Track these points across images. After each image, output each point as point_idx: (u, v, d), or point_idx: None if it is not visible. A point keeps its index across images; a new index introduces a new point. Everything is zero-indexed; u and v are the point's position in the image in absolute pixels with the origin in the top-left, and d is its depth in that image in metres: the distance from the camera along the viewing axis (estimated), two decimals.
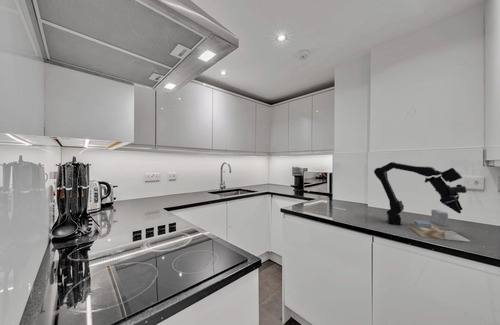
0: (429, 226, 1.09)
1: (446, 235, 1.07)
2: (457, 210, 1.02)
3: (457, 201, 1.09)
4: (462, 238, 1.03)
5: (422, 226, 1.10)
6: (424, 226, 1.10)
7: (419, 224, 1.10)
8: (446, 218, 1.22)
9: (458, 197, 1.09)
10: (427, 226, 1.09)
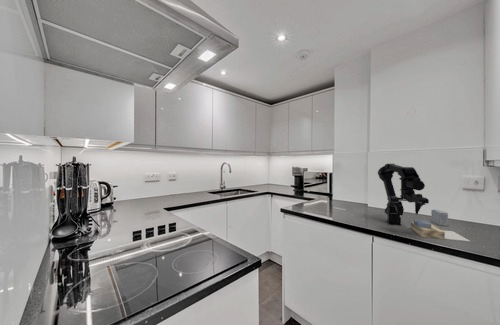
0: (429, 226, 1.09)
1: (446, 235, 1.07)
2: (396, 210, 1.16)
3: (417, 206, 1.12)
4: (462, 238, 1.03)
5: (422, 226, 1.10)
6: (424, 226, 1.10)
7: (419, 224, 1.10)
8: (446, 218, 1.22)
9: (419, 204, 1.10)
10: (427, 226, 1.09)
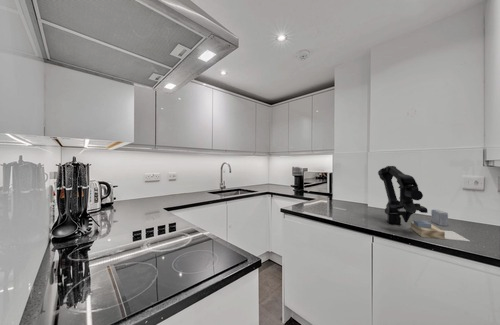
0: (429, 226, 1.09)
1: (446, 235, 1.07)
2: (404, 219, 1.15)
3: (407, 215, 1.14)
4: (462, 238, 1.03)
5: (422, 226, 1.10)
6: (424, 226, 1.10)
7: (419, 224, 1.10)
8: (446, 218, 1.22)
9: (409, 212, 1.12)
10: (427, 226, 1.09)
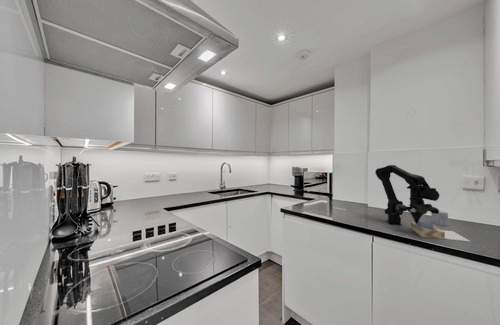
0: (431, 226, 1.08)
1: (446, 235, 1.07)
2: (414, 220, 1.14)
3: (418, 215, 1.12)
4: (462, 238, 1.03)
5: (424, 226, 1.10)
6: (426, 226, 1.09)
7: (421, 224, 1.10)
8: (446, 218, 1.22)
9: (419, 213, 1.10)
10: (430, 226, 1.09)
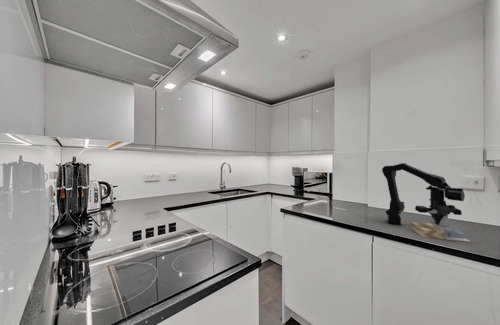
0: (451, 234, 1.05)
1: (446, 235, 1.07)
2: (435, 221, 1.10)
3: (439, 217, 1.09)
4: (462, 238, 1.03)
5: (459, 234, 1.03)
6: (457, 234, 1.04)
7: (462, 237, 1.03)
8: (446, 218, 1.22)
9: (441, 215, 1.07)
10: (453, 234, 1.04)
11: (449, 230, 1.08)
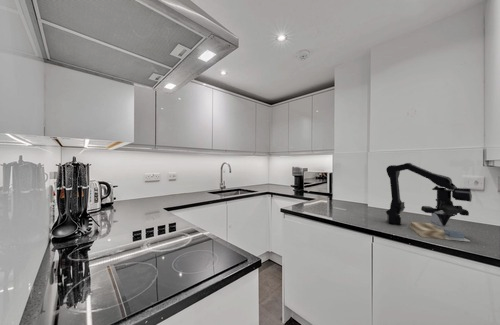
0: (451, 234, 1.05)
1: (446, 235, 1.07)
2: (441, 222, 1.09)
3: (445, 217, 1.08)
4: (462, 238, 1.03)
5: (459, 234, 1.03)
6: (457, 234, 1.04)
7: (462, 237, 1.03)
8: None
9: (448, 215, 1.06)
10: (453, 234, 1.04)
11: (449, 230, 1.08)
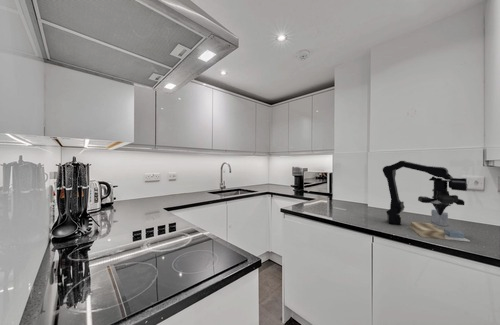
0: (451, 234, 1.05)
1: (446, 235, 1.07)
2: (437, 212, 1.11)
3: (442, 207, 1.10)
4: (462, 238, 1.03)
5: (459, 234, 1.03)
6: (457, 234, 1.04)
7: (462, 237, 1.03)
8: (446, 218, 1.22)
9: (444, 205, 1.08)
10: (453, 234, 1.04)
11: (449, 230, 1.08)
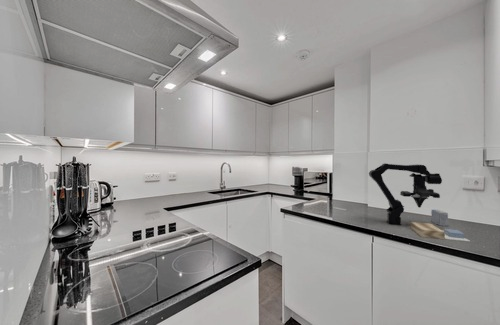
0: (451, 234, 1.05)
1: (446, 235, 1.07)
2: (417, 204, 1.24)
3: (420, 200, 1.23)
4: (462, 238, 1.03)
5: (459, 234, 1.03)
6: (457, 234, 1.04)
7: (462, 237, 1.03)
8: (446, 218, 1.22)
9: (422, 198, 1.21)
10: (453, 234, 1.04)
11: (449, 230, 1.08)
